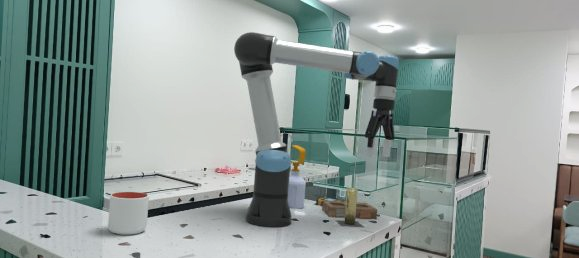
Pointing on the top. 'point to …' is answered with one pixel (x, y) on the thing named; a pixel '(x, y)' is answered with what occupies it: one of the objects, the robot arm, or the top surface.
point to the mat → (349, 225)
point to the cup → (128, 212)
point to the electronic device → (320, 200)
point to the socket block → (339, 207)
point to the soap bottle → (297, 182)
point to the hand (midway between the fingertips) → (378, 156)
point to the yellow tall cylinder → (350, 206)
